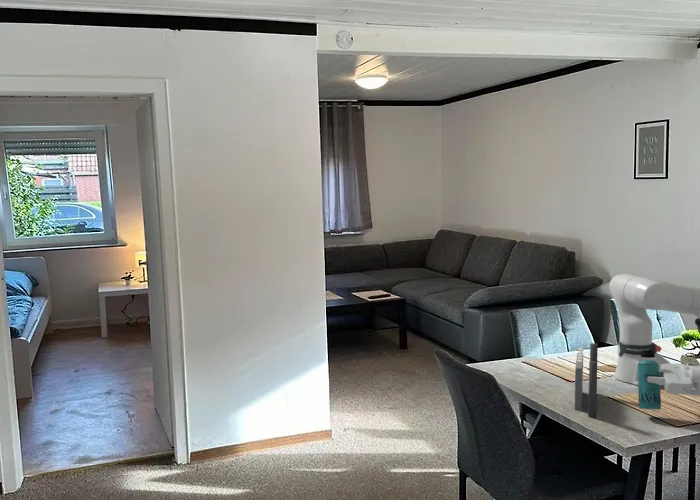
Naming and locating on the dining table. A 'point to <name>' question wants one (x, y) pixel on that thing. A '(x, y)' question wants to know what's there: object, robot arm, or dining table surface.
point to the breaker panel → (579, 380)
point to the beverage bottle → (648, 390)
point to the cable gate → (593, 381)
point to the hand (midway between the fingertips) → (646, 376)
